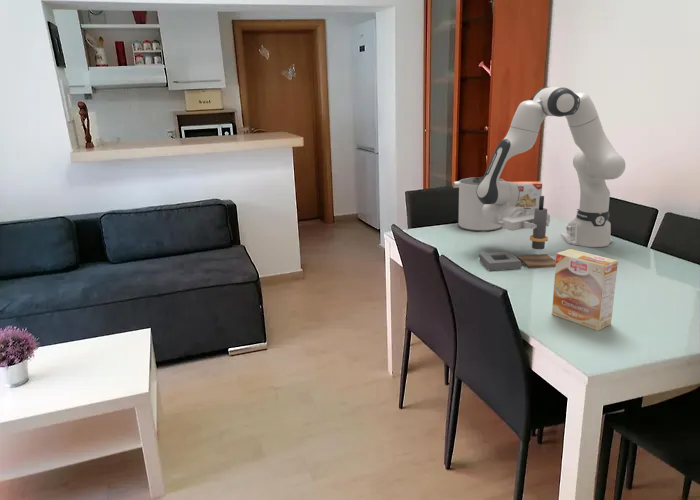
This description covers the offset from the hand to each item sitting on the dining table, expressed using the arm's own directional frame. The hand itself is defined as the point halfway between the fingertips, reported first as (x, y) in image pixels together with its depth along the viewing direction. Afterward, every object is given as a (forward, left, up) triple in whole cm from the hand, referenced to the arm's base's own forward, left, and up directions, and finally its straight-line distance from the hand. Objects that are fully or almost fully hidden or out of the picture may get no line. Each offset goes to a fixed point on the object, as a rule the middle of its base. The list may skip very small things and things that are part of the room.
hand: (541, 225), depth 199 cm
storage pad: (-1, 0, -15) cm, 15 cm away
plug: (-1, 0, -9) cm, 9 cm away
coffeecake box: (+50, -8, -15) cm, 53 cm away
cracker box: (-55, +15, -15) cm, 59 cm away
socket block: (-1, -15, -15) cm, 21 cm away
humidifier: (-59, -7, -15) cm, 61 cm away
